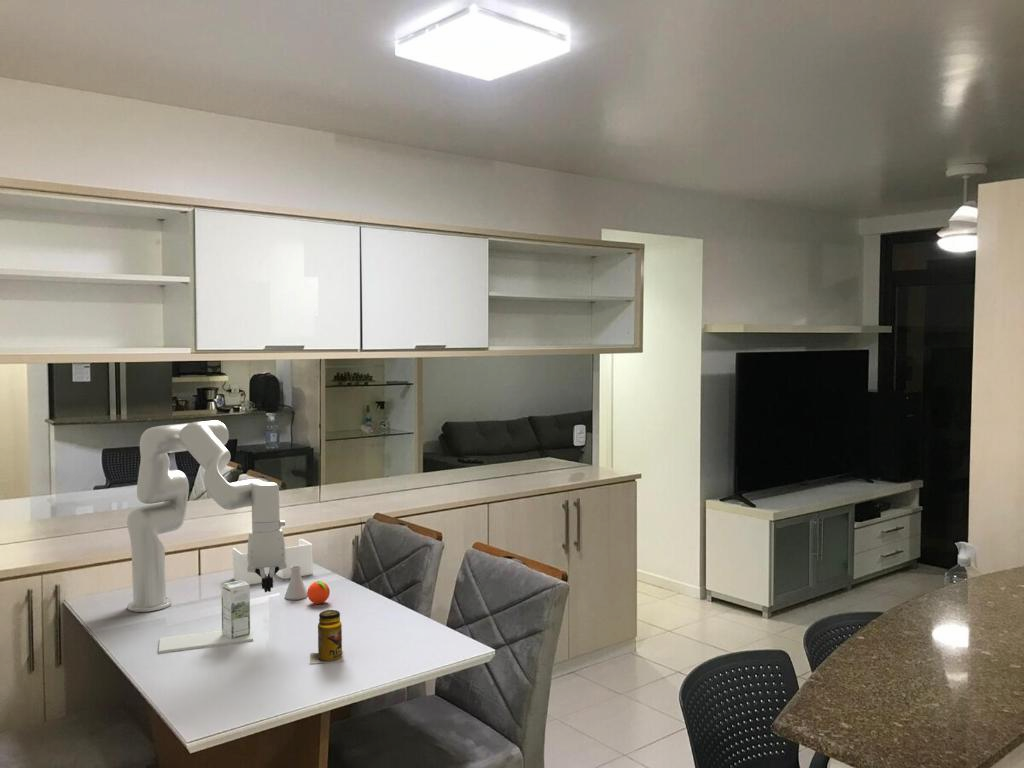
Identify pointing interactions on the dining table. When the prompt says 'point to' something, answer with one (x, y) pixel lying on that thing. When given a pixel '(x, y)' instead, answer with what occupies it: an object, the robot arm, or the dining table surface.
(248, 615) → the syrup box
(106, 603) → the dining table surface
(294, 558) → the white double bin
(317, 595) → the clementine
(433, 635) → the dining table surface
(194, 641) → the mat
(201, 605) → the dining table surface
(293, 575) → the flask
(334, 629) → the condiment
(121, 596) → the dining table surface
